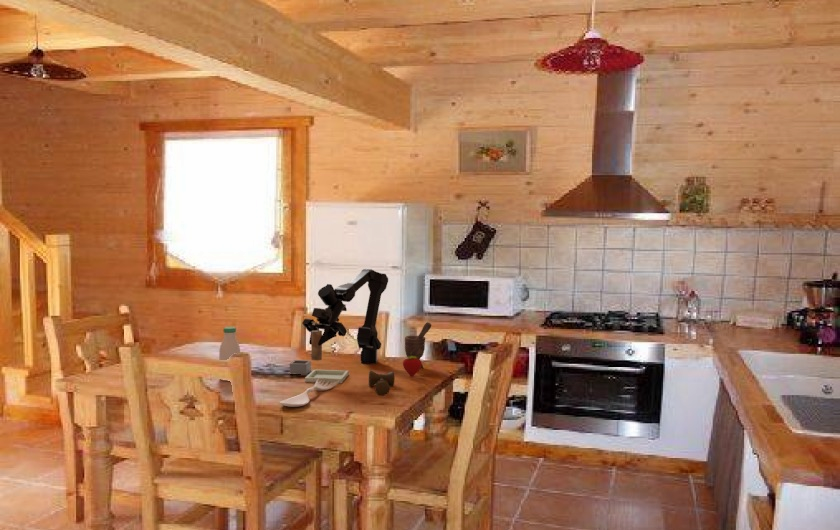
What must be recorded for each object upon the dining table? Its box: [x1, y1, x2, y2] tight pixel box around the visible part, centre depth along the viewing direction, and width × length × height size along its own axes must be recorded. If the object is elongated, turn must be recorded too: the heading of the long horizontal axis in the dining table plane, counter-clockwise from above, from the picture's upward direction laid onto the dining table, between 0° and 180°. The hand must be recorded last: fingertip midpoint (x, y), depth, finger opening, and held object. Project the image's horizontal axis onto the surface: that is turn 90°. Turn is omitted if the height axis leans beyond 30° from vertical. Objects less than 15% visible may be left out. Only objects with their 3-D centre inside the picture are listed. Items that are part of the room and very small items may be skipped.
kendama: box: [368, 370, 395, 396], centre depth 240 cm, size 6×10×20 cm
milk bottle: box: [218, 326, 241, 382], centre depth 249 cm, size 8×8×20 cm
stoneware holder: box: [289, 359, 312, 376], centre depth 259 cm, size 7×7×5 cm
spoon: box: [279, 378, 339, 408], centre depth 226 cm, size 9×32×4 cm, turn 163°
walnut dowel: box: [310, 329, 323, 361], centre depth 253 cm, size 4×4×11 cm
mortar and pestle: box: [404, 321, 432, 369], centre depth 273 cm, size 12×9×20 cm
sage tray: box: [304, 369, 350, 385], centre depth 251 cm, size 14×14×2 cm
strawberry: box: [402, 352, 423, 378], centre depth 258 cm, size 6×8×10 cm
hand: (314, 344), depth 252 cm, fingers closed on walnut dowel, 4 cm apart
